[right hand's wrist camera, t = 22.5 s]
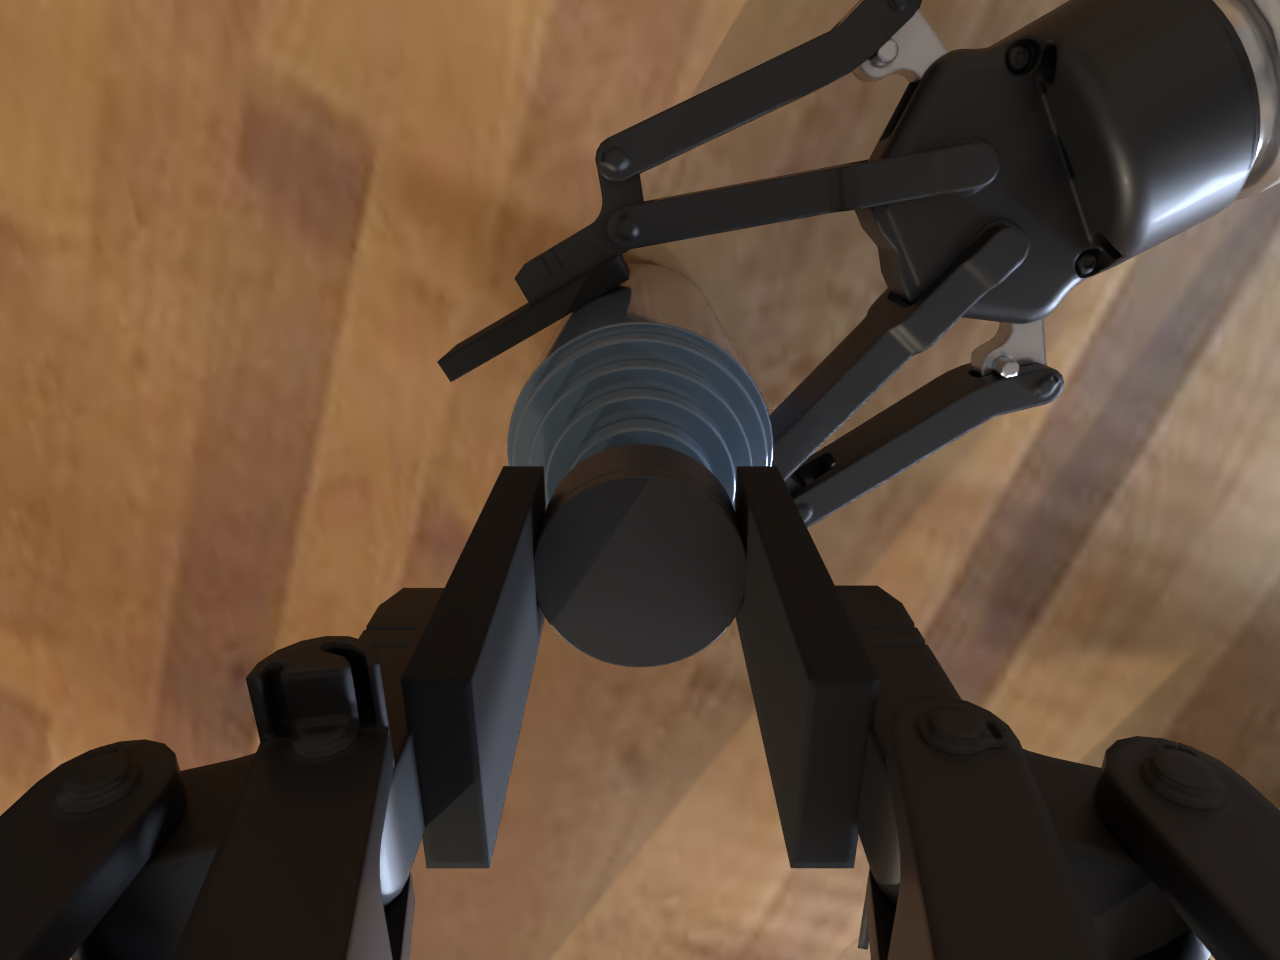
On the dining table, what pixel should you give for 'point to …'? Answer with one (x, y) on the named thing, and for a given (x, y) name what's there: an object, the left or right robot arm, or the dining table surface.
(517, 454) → the bottle
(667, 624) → the cap
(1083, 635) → the dining table surface
